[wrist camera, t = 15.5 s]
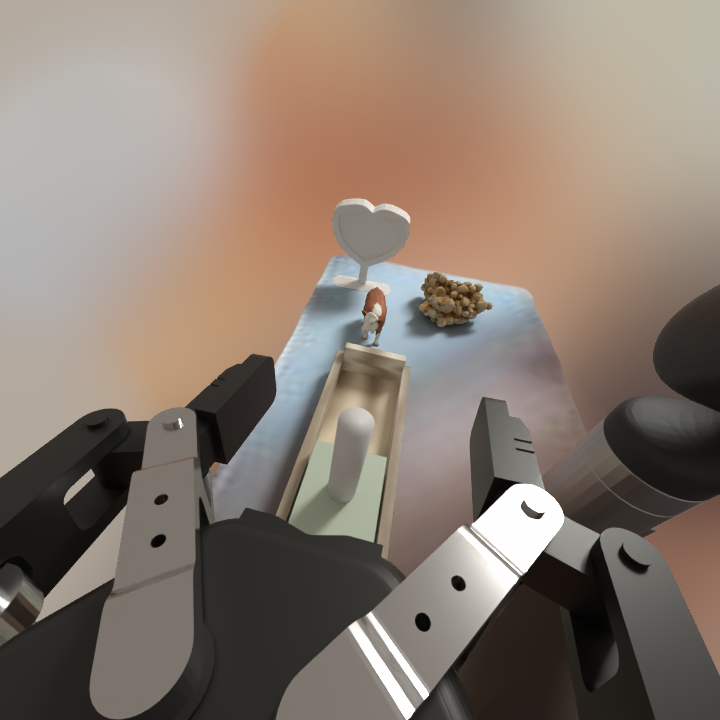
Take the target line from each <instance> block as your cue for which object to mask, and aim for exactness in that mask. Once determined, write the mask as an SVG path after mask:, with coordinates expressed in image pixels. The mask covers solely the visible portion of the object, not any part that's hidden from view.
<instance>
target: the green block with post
mask: <svg viewBox="0 0 720 720" xmlns="http://www.w3.org/2000/svg"><path fill="white" fill-rule="evenodd" d="M374 426H375V421H374V418H373V416H372V415H371V414H370V413H369V412H368V411H367V410H365V409H363V408H359V407H350V408H347V409H345V410H343V411H342V412H341V413H340V415H339V417H338V423H337V429H336V436H335V442H334V444H331V443H327V442H323V441H319V440H317V441H316V444H315V447H314V450H313V453H312V456H311V458H310V461H309V464H308V467H307V470H306V473H305V476H304V479H303V482H302V484H301V487H300V490H299V493H298V496H297V499H296V502H295V505H294V507H293V510H292V513H291V516H290V519H289V522H288V523H289V524H291V525H293V526H294V527H296V528H298V529H299V530H301V531H303V532H304V533H306V534H309V535H348V536H352V537H355V538H359V539H363V540H366V541H370V542H374V538H375V532H376V525H377V519H378V512H379V506H380V499H381V493H382V486H383V480H384V474H385V467H386V461H387V457H383V456H379V455H375V454H371V453H367V451H368V447H369V444H370V440H371V437H372V433H373V430H374Z"/></svg>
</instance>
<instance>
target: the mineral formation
mask: <svg viewBox="0 0 720 720" xmlns="http://www.w3.org/2000/svg"><path fill="white" fill-rule="evenodd" d="M482 288H483V286H481V285H480V284H475V285H474V286H472V283H471V282H465V283H463V284H461V283H460V282H459V281H457V282H454V280H447V277H446V276H445V275H442V273H441V272H438V271H435V272H434V273H433V274H432V273H429V274H428V275H427V278H425V284H423V285H422V287H421V289H422V290H423V291H425V292H424V296H425V298H426V300H425V301H424V302H423V303H422V304H420V305H419V306H418V309H419V310H420V311H422V313H423V314H424V315H425V316H429V317H430V320H431V321H432V322H433V323H434V322H435V323H437V325H438V327H444V326H445V325H452V324H453V323H455V324H463V323H465V322H468V320H469V319H475V317H476V315H477V314H479V313H481V312H483V311H484V310H485V309H487V310H490V309H492V306H493V305H492V304H491V303H487V302H485V301H484V300H483V295H482V294H481V293H480V291H481V290H482Z"/></svg>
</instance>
